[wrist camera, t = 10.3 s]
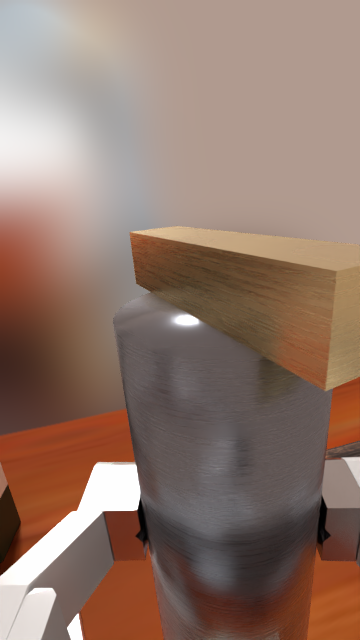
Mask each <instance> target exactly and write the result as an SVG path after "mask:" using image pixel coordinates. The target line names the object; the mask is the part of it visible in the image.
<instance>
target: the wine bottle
mask: <svg viewBox="0 0 360 640" xmlns="http://www.w3.org/2000/svg"><path fill="white" fill-rule="evenodd" d="M20 522H21V521H20V518H19V515H18V512H17V509H16V506H15V503H14V501H13V498H12V495H11V492H10V489H9V486H8V483H7V480H6V478H5V475H4V472H3V469H2V466H1V463H0V563H1V562H2V561H4V558H5V556H6V554H7V552H8V549H9V547H10V545H11V542H12V540H13V538H14V535H15V533H16V531H17V529H18V526H19V524H20Z"/></svg>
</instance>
